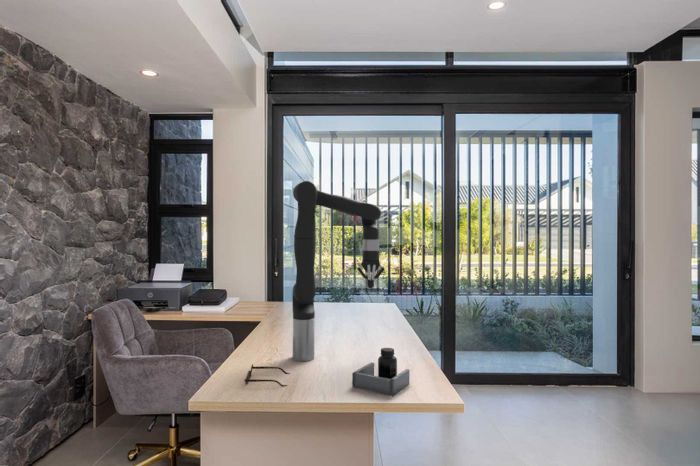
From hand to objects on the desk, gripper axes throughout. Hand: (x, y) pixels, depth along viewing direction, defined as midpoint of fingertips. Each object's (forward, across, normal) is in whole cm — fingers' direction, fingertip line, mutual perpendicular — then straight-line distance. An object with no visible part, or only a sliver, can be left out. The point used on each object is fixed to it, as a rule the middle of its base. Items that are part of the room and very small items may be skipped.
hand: (370, 288), depth 191 cm
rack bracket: (+29, -4, -40) cm, 50 cm away
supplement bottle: (+29, -2, -39) cm, 49 cm away
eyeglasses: (+30, -44, -30) cm, 61 cm away
